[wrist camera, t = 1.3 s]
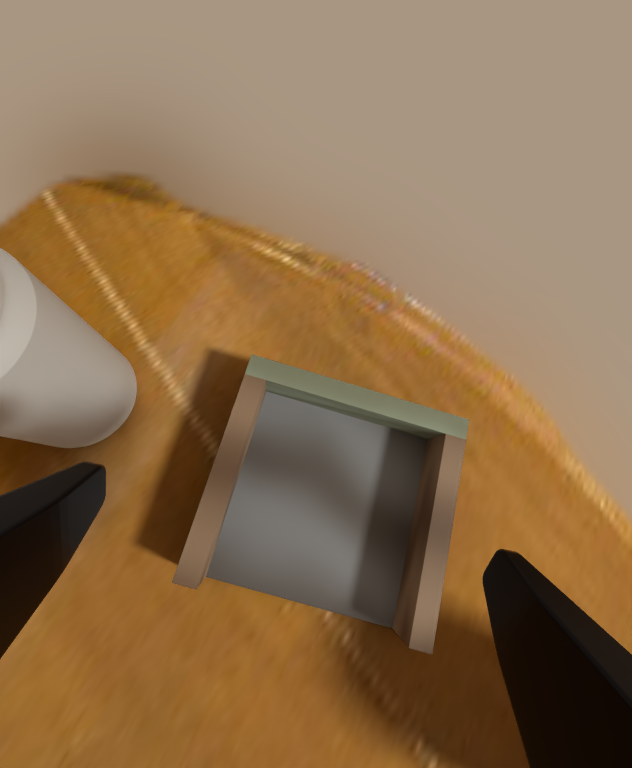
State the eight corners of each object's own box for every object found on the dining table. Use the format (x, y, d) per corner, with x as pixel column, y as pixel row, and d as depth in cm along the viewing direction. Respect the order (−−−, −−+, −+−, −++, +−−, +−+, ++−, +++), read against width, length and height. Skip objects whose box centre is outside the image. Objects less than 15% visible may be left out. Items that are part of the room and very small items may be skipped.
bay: (410, 631, 21) (432, 654, 18) (185, 569, 20) (171, 582, 18) (445, 427, 24) (469, 419, 21) (254, 370, 24) (251, 354, 21)
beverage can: (11, 441, 21) (-299, 388, 10) (47, 337, 23) (-178, 188, 11) (125, 456, 22) (-40, 424, 10) (153, 354, 23) (38, 226, 12)
